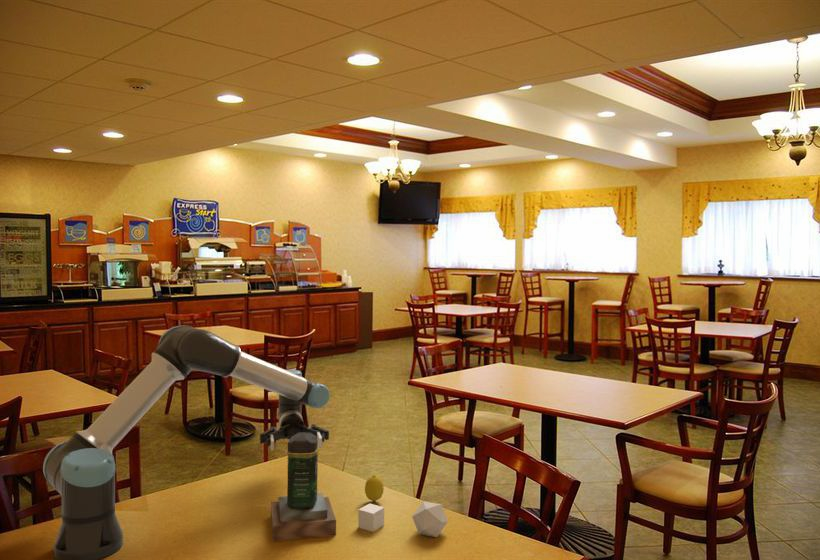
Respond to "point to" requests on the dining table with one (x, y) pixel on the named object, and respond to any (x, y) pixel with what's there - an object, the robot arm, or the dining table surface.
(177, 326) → the robot arm
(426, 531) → the die
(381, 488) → the lemon
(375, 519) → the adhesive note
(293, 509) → the tower stand
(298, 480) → the coffee jar
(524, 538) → the dining table surface
